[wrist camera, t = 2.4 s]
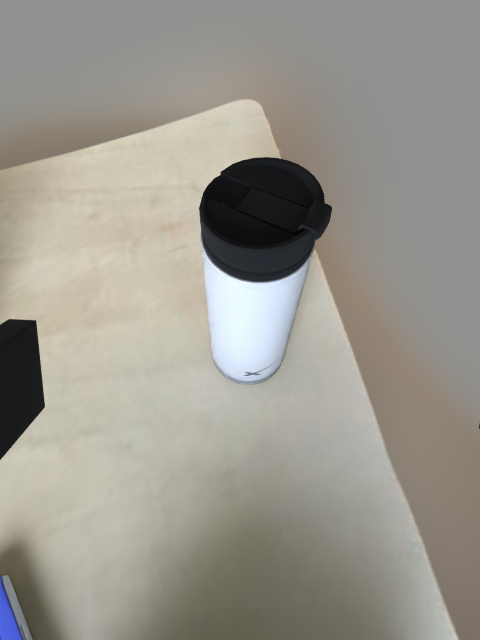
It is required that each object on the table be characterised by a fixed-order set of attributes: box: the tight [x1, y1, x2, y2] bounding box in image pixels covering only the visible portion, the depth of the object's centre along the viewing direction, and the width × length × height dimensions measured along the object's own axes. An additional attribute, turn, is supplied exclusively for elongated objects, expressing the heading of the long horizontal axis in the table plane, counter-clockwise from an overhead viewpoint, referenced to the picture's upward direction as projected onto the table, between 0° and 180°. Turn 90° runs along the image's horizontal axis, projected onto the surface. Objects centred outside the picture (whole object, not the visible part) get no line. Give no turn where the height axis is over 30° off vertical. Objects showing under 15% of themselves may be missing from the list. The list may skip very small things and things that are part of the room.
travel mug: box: [199, 157, 332, 384], centre depth 31 cm, size 6×7×20 cm
